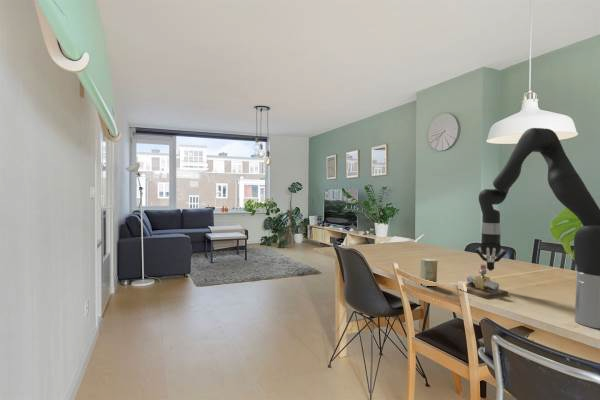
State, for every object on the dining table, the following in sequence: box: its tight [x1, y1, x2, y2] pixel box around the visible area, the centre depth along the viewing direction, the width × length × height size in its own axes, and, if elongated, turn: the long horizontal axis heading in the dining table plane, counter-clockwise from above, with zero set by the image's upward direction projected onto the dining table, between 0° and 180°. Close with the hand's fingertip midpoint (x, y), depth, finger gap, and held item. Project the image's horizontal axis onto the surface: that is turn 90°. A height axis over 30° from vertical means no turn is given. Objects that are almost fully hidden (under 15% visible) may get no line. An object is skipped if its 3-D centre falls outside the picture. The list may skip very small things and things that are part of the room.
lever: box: [478, 263, 487, 275], centre depth 150 cm, size 14×3×2 cm, turn 150°
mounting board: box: [465, 284, 509, 299], centre depth 146 cm, size 14×14×2 cm
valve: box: [466, 274, 500, 294], centre depth 145 cm, size 13×4×7 cm, turn 24°
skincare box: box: [419, 258, 438, 288], centre depth 155 cm, size 6×4×12 cm
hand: (490, 270), depth 153 cm, fingers closed
